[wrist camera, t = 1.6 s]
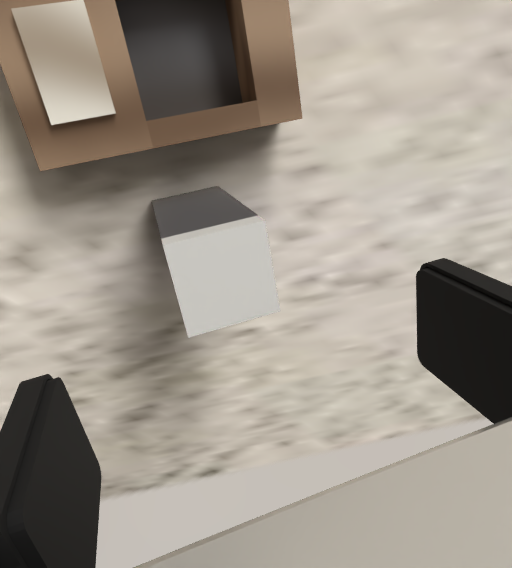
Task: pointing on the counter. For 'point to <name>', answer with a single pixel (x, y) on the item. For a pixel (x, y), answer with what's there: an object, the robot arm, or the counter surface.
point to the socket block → (144, 72)
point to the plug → (216, 259)
